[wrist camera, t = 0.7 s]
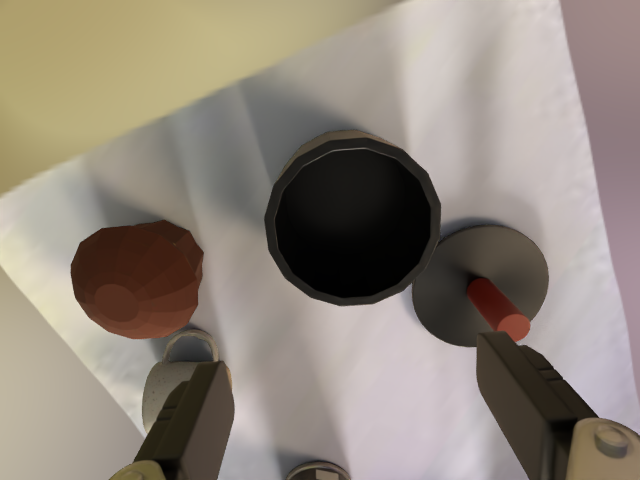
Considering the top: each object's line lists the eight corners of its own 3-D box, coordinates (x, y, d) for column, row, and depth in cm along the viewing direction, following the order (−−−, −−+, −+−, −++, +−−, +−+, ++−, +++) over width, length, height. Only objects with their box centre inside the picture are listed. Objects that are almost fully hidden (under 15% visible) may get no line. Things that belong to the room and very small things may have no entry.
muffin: (238, 260, 41) (214, 305, 32) (175, 323, 44) (136, 382, 34) (148, 184, 39) (93, 209, 29) (88, 256, 41) (19, 301, 32)
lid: (535, 337, 45) (583, 389, 36) (410, 345, 45) (430, 398, 37) (550, 217, 40) (610, 246, 32) (410, 228, 40) (433, 259, 32)
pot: (411, 255, 41) (438, 299, 32) (286, 264, 41) (276, 311, 32) (411, 124, 37) (443, 130, 27) (271, 136, 37) (254, 146, 28)
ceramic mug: (238, 398, 47) (223, 450, 40) (172, 401, 48) (146, 453, 40) (227, 323, 44) (209, 365, 37) (157, 326, 44) (125, 368, 37)
